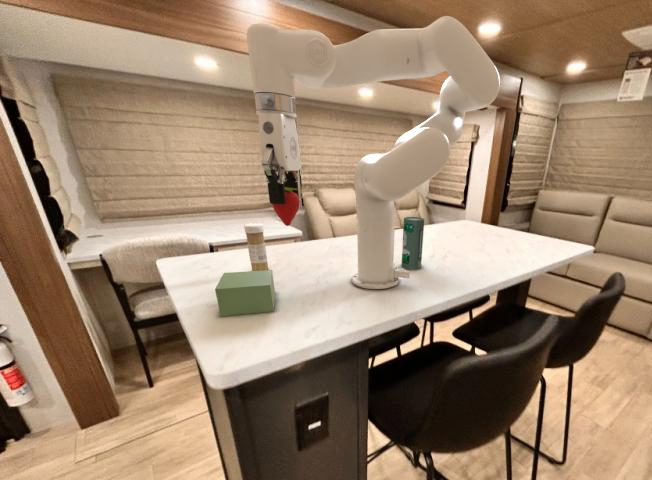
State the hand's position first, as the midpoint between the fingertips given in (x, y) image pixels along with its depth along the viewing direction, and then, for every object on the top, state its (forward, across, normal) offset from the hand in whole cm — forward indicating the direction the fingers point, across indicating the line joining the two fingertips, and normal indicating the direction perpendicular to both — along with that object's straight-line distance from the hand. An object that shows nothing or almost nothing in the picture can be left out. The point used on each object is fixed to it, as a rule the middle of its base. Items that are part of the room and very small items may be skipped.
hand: (285, 201), depth 68 cm
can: (+21, +25, -29) cm, 43 cm away
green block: (+21, -9, +7) cm, 24 cm away
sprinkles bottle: (+21, +12, +14) cm, 28 cm away
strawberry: (+6, 0, 0) cm, 6 cm away
